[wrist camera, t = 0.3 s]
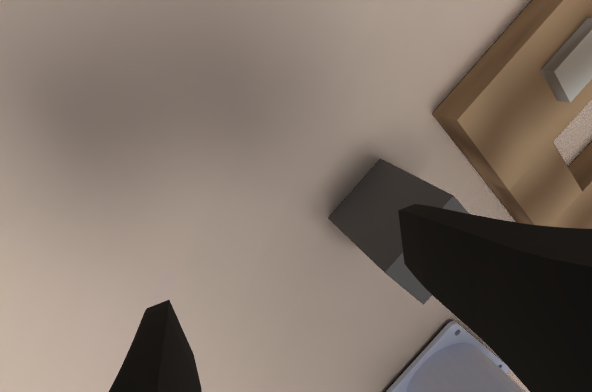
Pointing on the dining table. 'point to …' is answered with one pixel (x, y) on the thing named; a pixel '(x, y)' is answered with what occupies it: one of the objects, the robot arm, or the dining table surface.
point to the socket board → (530, 114)
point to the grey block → (388, 218)
